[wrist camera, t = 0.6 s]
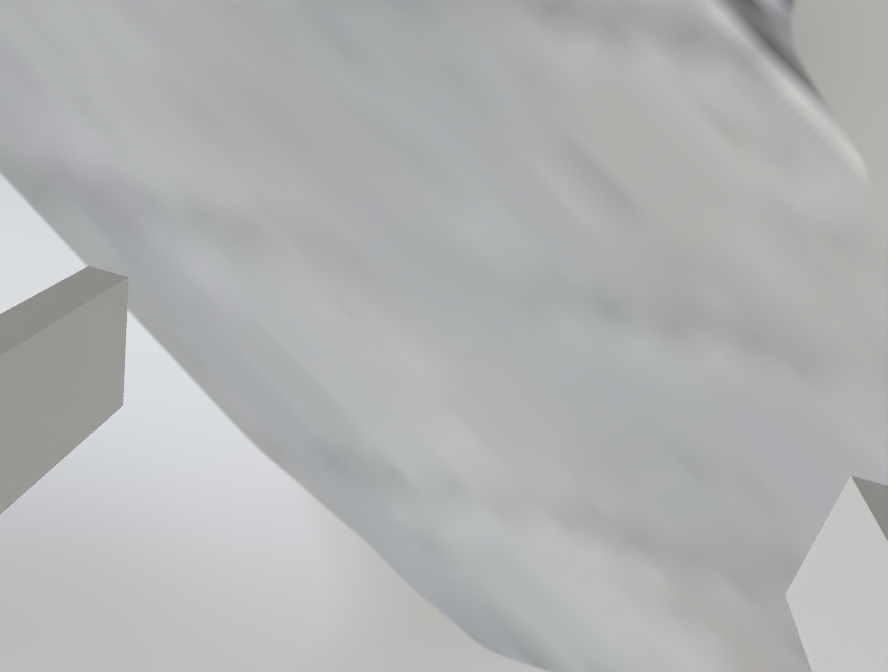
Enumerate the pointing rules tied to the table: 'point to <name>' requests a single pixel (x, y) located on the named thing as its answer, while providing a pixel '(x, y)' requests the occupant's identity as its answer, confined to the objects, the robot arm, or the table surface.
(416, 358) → the table surface
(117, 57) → the table surface
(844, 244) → the table surface
